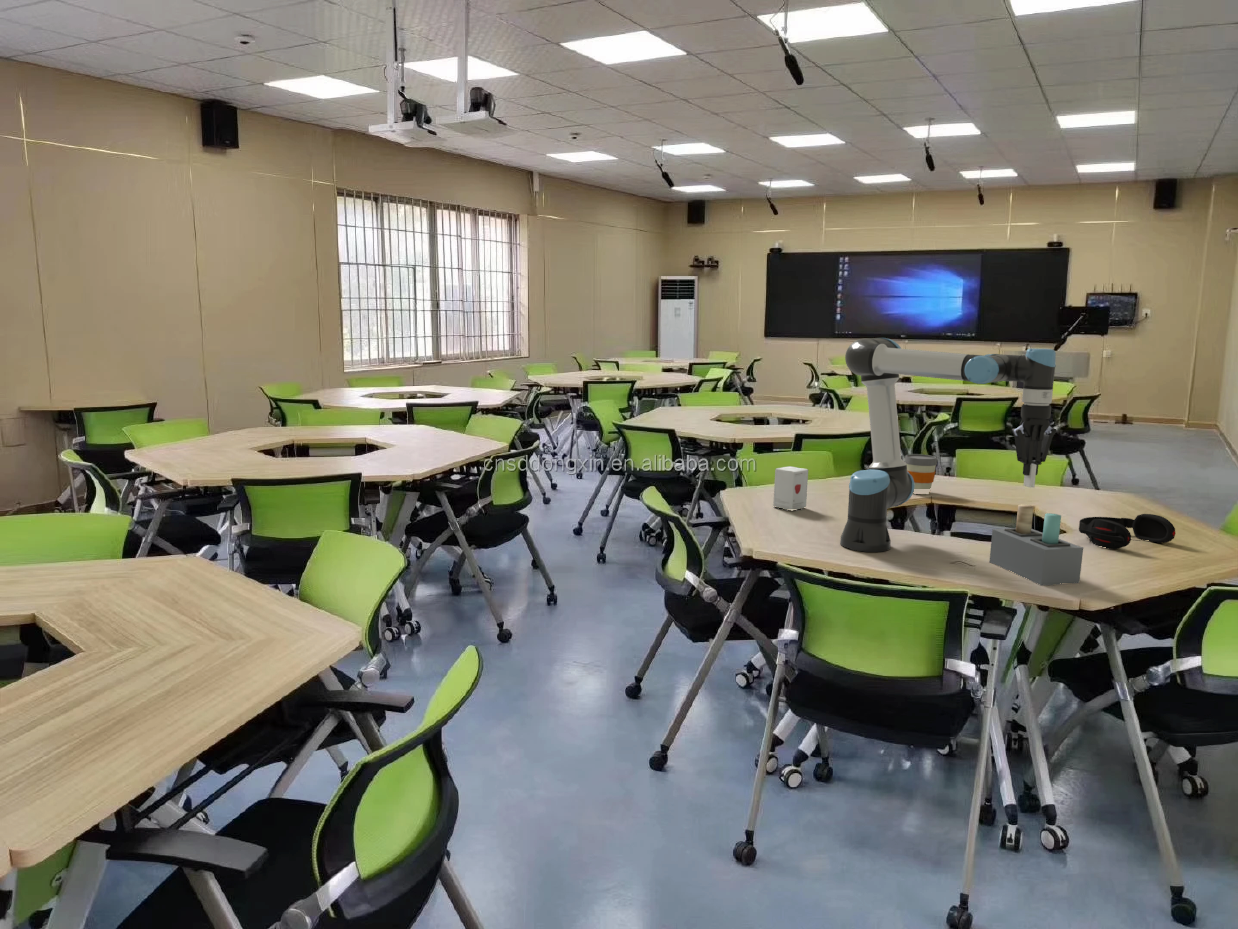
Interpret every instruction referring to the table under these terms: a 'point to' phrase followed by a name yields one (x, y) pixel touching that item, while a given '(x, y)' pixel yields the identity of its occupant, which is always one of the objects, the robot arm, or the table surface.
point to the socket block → (1036, 557)
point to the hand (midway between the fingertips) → (1028, 486)
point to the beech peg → (1024, 519)
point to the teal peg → (1051, 528)
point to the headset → (1126, 530)
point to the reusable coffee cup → (921, 469)
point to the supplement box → (790, 487)
